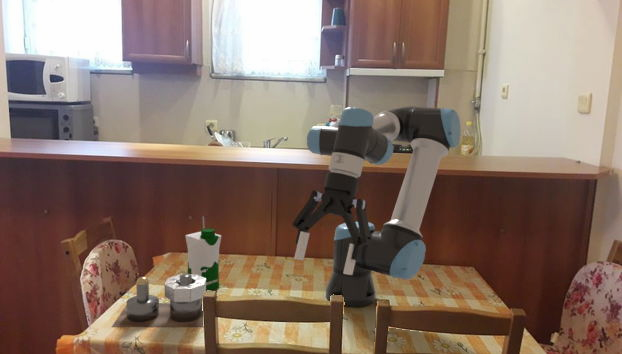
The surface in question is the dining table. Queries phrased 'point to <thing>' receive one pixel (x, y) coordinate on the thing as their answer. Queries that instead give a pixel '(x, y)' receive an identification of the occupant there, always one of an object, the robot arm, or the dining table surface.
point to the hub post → (142, 303)
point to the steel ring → (185, 289)
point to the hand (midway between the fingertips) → (322, 266)
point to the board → (157, 319)
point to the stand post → (185, 305)
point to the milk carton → (204, 256)
